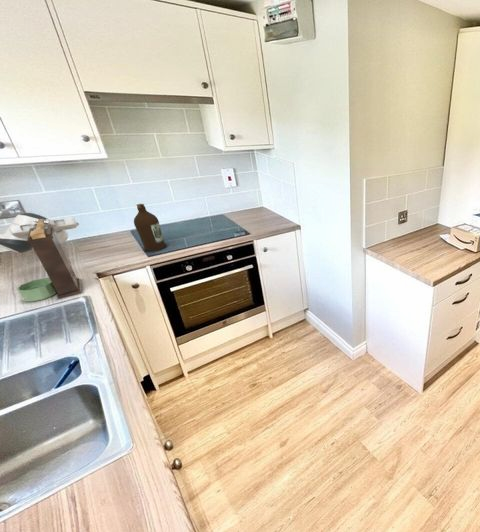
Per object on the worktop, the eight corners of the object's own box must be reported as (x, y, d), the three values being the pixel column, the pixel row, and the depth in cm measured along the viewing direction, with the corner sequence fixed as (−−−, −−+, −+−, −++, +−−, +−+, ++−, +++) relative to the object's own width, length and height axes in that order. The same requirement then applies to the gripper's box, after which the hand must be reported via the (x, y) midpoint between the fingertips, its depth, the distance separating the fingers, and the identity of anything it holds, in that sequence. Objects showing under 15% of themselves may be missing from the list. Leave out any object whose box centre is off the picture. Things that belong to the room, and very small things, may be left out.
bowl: (22, 305, 128) (15, 293, 126) (24, 294, 135) (18, 283, 132) (58, 296, 135) (52, 285, 132) (59, 286, 141) (53, 275, 139)
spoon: (32, 239, 122) (29, 234, 121) (36, 223, 137) (34, 219, 136) (45, 237, 124) (43, 232, 123) (48, 221, 139) (46, 217, 139)
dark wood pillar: (58, 299, 133) (25, 238, 120) (59, 285, 142) (28, 227, 130) (81, 293, 137) (51, 234, 125) (80, 279, 147) (52, 224, 134)
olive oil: (139, 252, 174) (122, 207, 163) (151, 244, 183) (135, 201, 172) (160, 251, 175) (144, 207, 163) (170, 244, 184) (156, 201, 173)
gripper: (82, 231, 152) (76, 224, 141) (19, 241, 140) (7, 234, 129) (77, 218, 152) (71, 210, 141) (13, 228, 139) (1, 219, 128)
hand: (40, 222), depth 135 cm, fingers closed on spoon, 2 cm apart
